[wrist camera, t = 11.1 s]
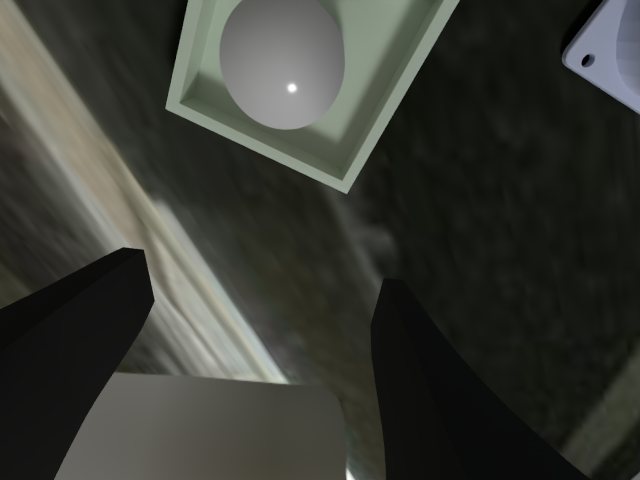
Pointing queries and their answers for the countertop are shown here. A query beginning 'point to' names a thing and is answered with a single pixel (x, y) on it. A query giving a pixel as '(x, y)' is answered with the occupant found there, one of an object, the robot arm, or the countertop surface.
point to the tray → (354, 96)
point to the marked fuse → (282, 61)
